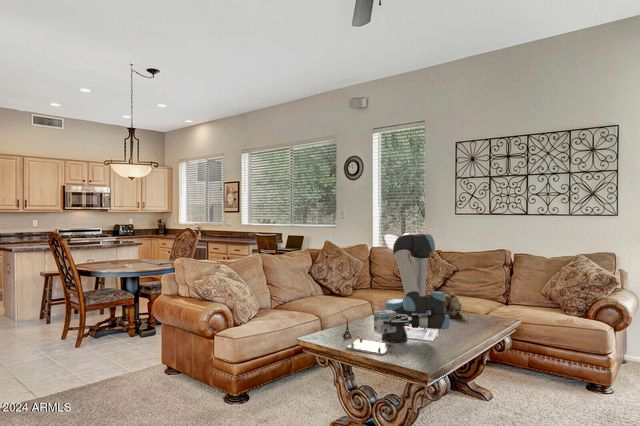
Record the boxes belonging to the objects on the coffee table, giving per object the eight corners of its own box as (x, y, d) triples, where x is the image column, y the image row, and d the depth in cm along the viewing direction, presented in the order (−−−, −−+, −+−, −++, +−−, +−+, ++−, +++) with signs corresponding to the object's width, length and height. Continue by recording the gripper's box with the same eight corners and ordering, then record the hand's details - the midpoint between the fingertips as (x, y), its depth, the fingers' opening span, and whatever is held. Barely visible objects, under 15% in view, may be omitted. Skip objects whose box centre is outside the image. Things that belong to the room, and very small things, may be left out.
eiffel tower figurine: (362, 338, 265) (362, 316, 265) (352, 342, 258) (352, 319, 258) (344, 333, 276) (344, 312, 275) (333, 337, 268) (333, 315, 268)
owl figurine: (435, 314, 319) (435, 291, 319) (446, 312, 326) (446, 290, 326) (456, 320, 304) (456, 295, 304) (466, 317, 311) (466, 293, 311)
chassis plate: (357, 341, 258) (357, 335, 258) (393, 346, 248) (393, 341, 247) (346, 349, 244) (346, 343, 244) (383, 355, 234) (383, 349, 233)
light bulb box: (379, 334, 230) (379, 314, 230) (373, 330, 236) (373, 311, 236) (396, 331, 234) (396, 311, 234) (389, 328, 240) (389, 309, 240)
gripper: (420, 334, 220) (376, 332, 224) (418, 321, 243) (378, 320, 247) (420, 319, 220) (376, 317, 224) (418, 308, 243) (378, 306, 247)
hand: (377, 319), depth 236 cm, fingers closed on light bulb box, 11 cm apart
